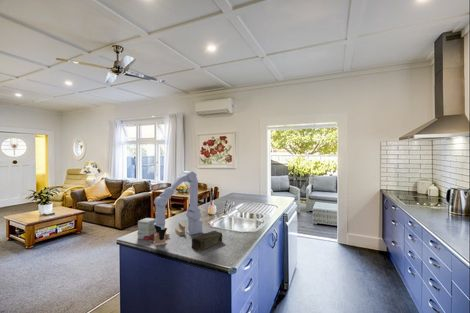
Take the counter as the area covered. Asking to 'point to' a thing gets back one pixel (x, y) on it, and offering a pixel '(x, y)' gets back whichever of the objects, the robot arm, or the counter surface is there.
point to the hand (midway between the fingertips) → (160, 237)
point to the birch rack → (177, 230)
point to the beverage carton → (206, 240)
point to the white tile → (160, 243)
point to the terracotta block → (156, 238)
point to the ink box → (146, 228)
